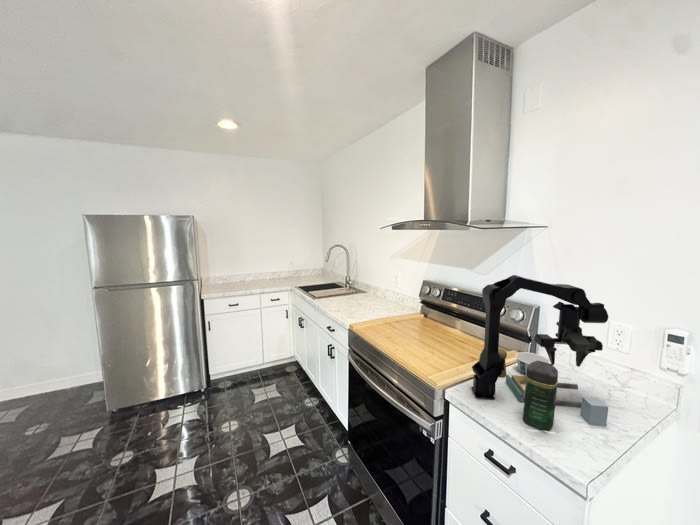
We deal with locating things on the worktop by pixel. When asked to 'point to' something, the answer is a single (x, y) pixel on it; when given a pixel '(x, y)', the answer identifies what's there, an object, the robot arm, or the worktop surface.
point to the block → (594, 411)
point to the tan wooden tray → (520, 382)
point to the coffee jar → (540, 395)
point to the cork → (504, 355)
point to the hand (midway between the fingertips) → (565, 365)
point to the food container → (528, 360)
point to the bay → (521, 399)
